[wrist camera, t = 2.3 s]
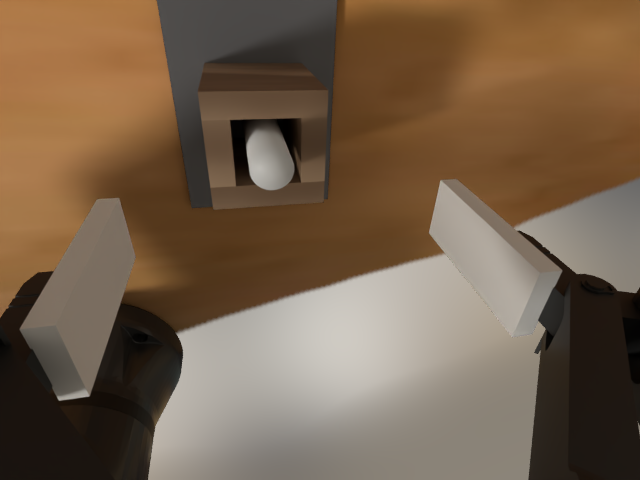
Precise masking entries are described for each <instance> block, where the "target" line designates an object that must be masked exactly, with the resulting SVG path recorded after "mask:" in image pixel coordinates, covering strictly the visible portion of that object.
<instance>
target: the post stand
mask: <svg viewBox="0 0 640 480" xmlns="http://www.w3.org/2000/svg"><path fill="white" fill-rule="evenodd" d="M157 4H158V10H159V16H160V22H161V28H162V34H163V40H164V46H165V52H166V57H167V63H168V69H169V75H170V81H171V87H172V93H173V99H174V105H175V111H176V117H177V123H178V129H179V135H180V141H181V147H182V153H183V159H184V165H185V171H186V177H187V183H188V189H189V195H190V201H191V207H192V208H201V207H213V203H212V195H211V188H210V180H209V173H208V165H207V158H206V150H205V143H204V135H203V128H202V120H201V113H200V105H199V98H198V88H199V84H200V80H201V75H202V71H203V67H204V63H302V64H303V65H304V66H305V67H306V68H307V69H308V70H309V71H310V72H311V73H312V74H313V75H314V76H315V77H316V78H317V79H318V80H319V81H320V82H321V83H322V84H323V85H324V86H325V87H326V88H327V89H328V112H327V135H326V159H325V183H324V199H328V181H329V160H330V139H331V118H332V98H333V77H334V56H335V35H336V15H337V0H157ZM231 123H232V134H233V138H245V143H246V150H247V157H248V164H249V171H250V176H251V178H252V180H253V182H254V183H255V184H256V185H257V186H259V187H260V188H263V189H266V190H277V189H280V188H283V187H284V186H286V185H287V184H288V183H289V182H290V181H291V179H292V177H293V175H294V163H293V160H292V158H291V155H290V153H289V150H288V148H287V145H286V143H285V140H284V138H283V119H244V120H231Z"/></svg>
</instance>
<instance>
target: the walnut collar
mask: <svg viewBox="0 0 640 480" xmlns="http://www.w3.org/2000/svg"><path fill="white" fill-rule="evenodd" d="M198 98H199V105H200V113H201V120H202V128H203V135H204V143H205V150H206V158H207V165H208V173H209V180H210V188H211V195H212V203H213V210H218V209H233V208H247V207H262V206H277V205H291V204H306V203H321V202H324V183H325V159H326V135H327V112H328V89H327V88H326V87H325V86H324V85H323V84H322V83H321V82H320V81H319V80H318V79H317V78H316V77H315V76H314V75H313V74H312V73H311V72H310V71H309V70H308V69H307V68H306V67H305V66H304V65H303V64H302V63H204V67H203V71H202V75H201V80H200V84H199V88H198ZM244 119H283V138H284V140H285V143H286V145H287V148H288V150H289V153H290V155H291V158H292V160H293V163H294V175H293V177H292V179H291V181H290V182H289V183H288V184H287V185H286V186H284V187H283V188H280V189H277V190H266V189H263V188H260V187H259V186H257V185H256V184H255V183H254V182H253V180H252V178H251V176H250V171H249V164H248V157H247V150H246V143H245V138H233V134H232V123H231V120H244Z"/></svg>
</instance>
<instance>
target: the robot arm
mask: <svg viewBox="0 0 640 480" xmlns="http://www.w3.org/2000/svg"><path fill="white" fill-rule="evenodd" d="M429 234H430V235H431V236H432V238H433V239H434V240H435V241H436V243H437V244H438V245H439V246H440V248H441V249H442V250H443V251H444V253H445V254H446V255H447V256H448V258H449V259H450V260H451V261H452V263H453V264H454V265H455V266H456V267H457V269H458V270H459V271H460V273H461V274H462V275H463V276H464V278H465V279H466V280H467V281H468V283H469V284H470V285H471V286H472V288H473V289H474V290H475V291H476V293H477V294H478V295H479V296H480V297H481V299H482V300H483V301H484V303H485V304H486V305H487V306H488V307H489V309H490V310H491V311H492V313H493V314H494V315H495V316H496V318H497V319H498V320H499V321H500V323H501V324H502V325H503V326H504V328H505V329H506V330H507V331H508V333H509V334H510V335H511V336H512V337H516V336H524V335H530V334H532V333H533V331H534V329H535V327H536V325H537V323H538V321H539V322H540V323H541V324H542V325H543V326H544V327H545V328H546V330H545V332H544V334H543V336H542V338H541V340H540V342H539V344H538V346H537V348H536V350H535V352H534V353H537V354H538V353H539V351H540V350H541V353H540V364H539V375H538V385H537V396H536V406H535V417H534V427H533V438H532V448H531V459H530V469H529V480H640V435H639V429H638V423H639V425H640V288H639V290H638V291H637V293H629V292H621V291H617V290H616V289H615V288H614V287H613V286H612V285H611V284H610V283H608V282H606V281H605V280H603V279H601V278H598V277H595V276H592V275H587V274H576V273H575V272H573V271H572V270H571V269H570V268H569V267H567V266H566V265H565V264H564V263H563V262H562V261H560V260H559V259H558V258H557V257H556V256H554V255H553V254H550V251H549V250H547V249H546V248H545V247H542V245H541V244H540V243H539V242H538V241H536V240H535V239H534V238H533V237H531V236H529V235H527V234H525V233H523V232H521V231H516V230H515V229H514V228H513V227H512V226H511V225H509V224H508V223H507V222H506V221H505V220H504V219H502V218H501V217H500V216H499V215H498V214H497V213H495V212H494V211H493V210H492V209H491V208H490V207H489V206H487V205H486V204H485V203H484V202H483V201H482V200H480V199H479V198H478V197H477V196H476V195H475V194H473V193H472V192H471V191H470V190H469V189H468V188H467V187H465V186H464V185H463V184H462V183H461V182H460V181H458V180H457V179H448V180H441V181H440V185H439V190H438V194H437V199H436V203H435V208H434V212H433V217H432V221H431V226H430V230H429ZM135 258H136V256H135V253H134V249H133V245H132V242H131V238H130V235H129V231H128V228H127V224H126V220H125V217H124V213H123V210H122V206H121V203H120V199H119V198H108V199H97V200H96V202H95V204H94V205H93V207H92V209H91V210H90V212H89V214H88V215H87V217H86V219H85V220H84V222H83V224H82V225H81V227H80V229H79V230H78V232H77V234H76V235H75V237H74V239H73V240H72V242H71V244H70V245H69V247H68V249H67V250H66V252H65V254H64V255H63V257H62V259H61V260H60V262H59V264H58V266H57V267H56V269H55V271H51V272H39V273H37V274H36V275H34V276H33V277H32V278H30V279H29V280H28V281H27V282H25V283H24V284H23V285H22V287H21V288H20V290H19V291H18V293H17V294H16V296H15V298H14V299H13V300H12V302H11V303H10V305H9V308H8V309H6V311H5V312H4V313H3V315H2V316H1V318H0V480H148V474H149V467H150V459H151V452H152V444H153V437H154V431H155V426H156V424H157V422H158V420H159V418H160V416H161V414H162V412H163V410H164V408H165V407H166V405H167V403H168V401H169V399H170V396H171V395H172V393H173V391H174V389H175V387H176V385H177V383H178V381H179V378H180V374H181V368H182V359H183V350H182V345H181V342H180V340H179V338H178V336H177V335H176V333H175V332H174V331H173V329H172V328H171V327H170V326H169V325H168V324H166V323H165V322H164V321H163V320H161V319H160V318H158V317H156V316H155V315H153V314H151V313H149V312H147V311H144V310H142V309H139V308H136V307H132V306H128V305H124V304H120V303H121V300H122V297H123V294H124V291H125V288H126V285H127V282H128V279H129V276H130V273H131V270H132V267H133V264H134V261H135Z"/></svg>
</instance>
